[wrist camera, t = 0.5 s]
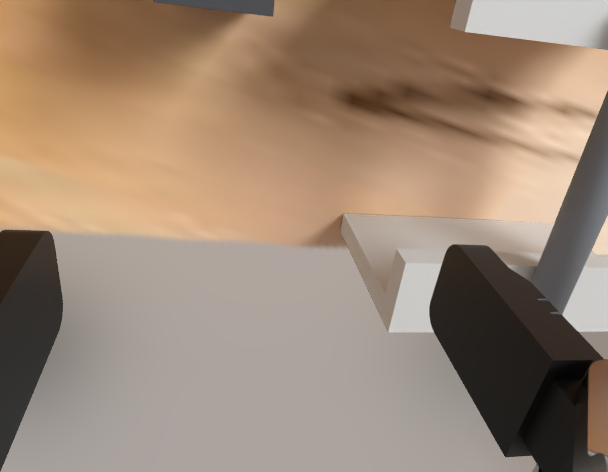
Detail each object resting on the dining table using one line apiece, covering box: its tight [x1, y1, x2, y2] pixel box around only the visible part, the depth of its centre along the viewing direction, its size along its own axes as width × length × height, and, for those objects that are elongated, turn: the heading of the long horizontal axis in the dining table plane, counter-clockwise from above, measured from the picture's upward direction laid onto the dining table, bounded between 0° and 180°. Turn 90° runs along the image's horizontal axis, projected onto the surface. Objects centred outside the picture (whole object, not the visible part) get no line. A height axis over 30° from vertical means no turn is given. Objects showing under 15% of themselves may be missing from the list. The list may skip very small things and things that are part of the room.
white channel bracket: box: [341, 0, 608, 333], centre depth 28 cm, size 20×18×14 cm
